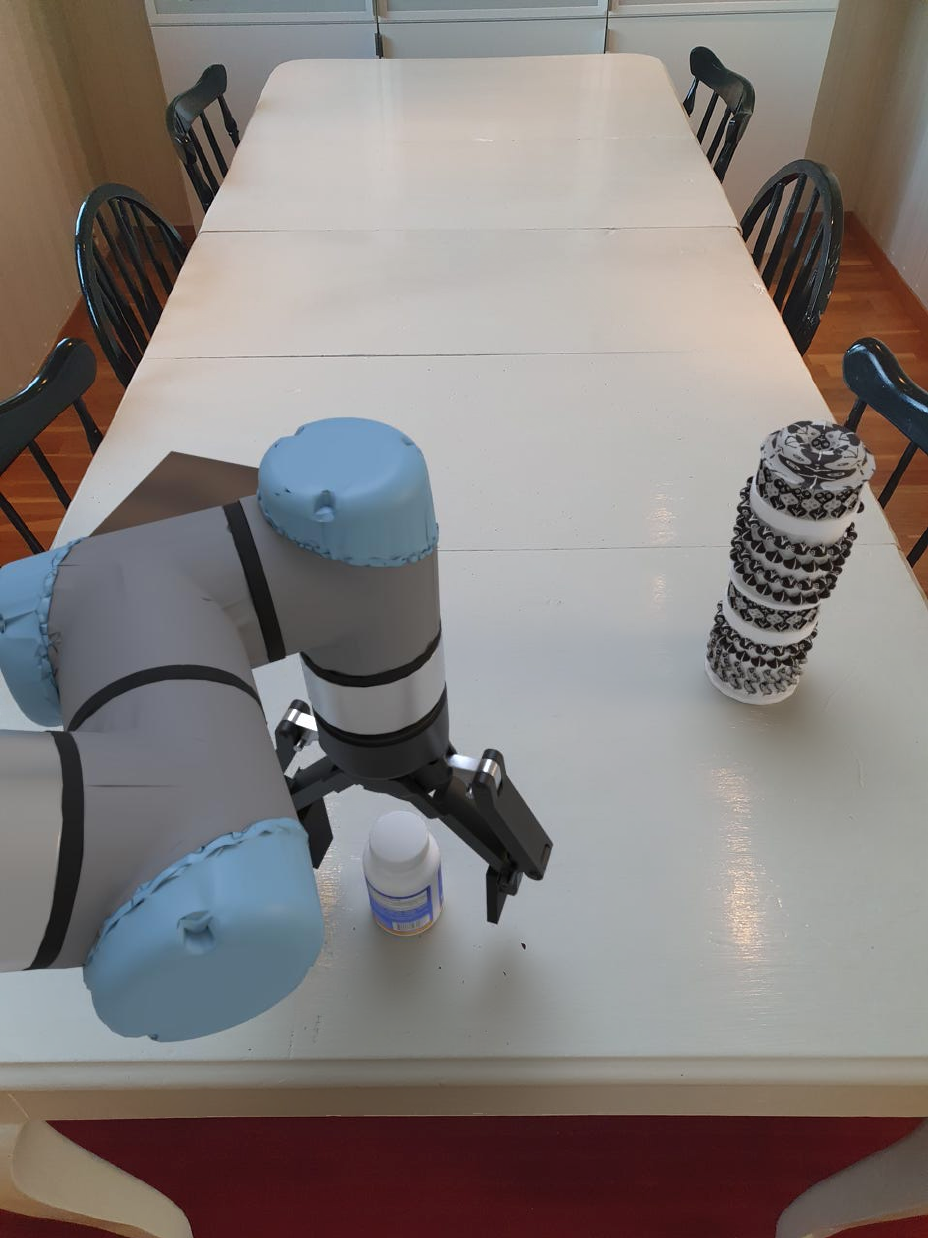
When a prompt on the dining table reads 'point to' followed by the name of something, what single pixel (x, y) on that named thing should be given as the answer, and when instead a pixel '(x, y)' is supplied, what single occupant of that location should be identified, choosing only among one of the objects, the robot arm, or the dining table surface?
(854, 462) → the decorative candle
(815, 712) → the dining table surface
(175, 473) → the cabinet
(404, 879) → the pill bottle
